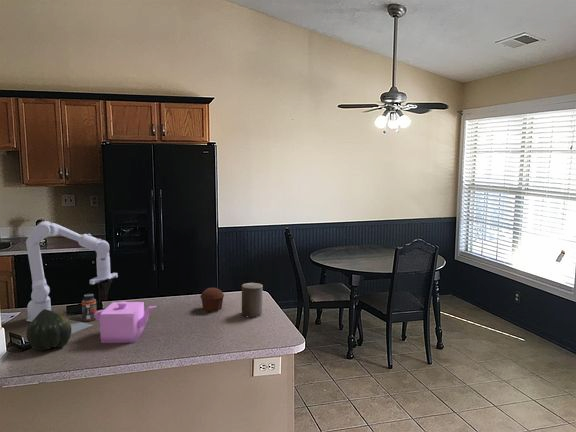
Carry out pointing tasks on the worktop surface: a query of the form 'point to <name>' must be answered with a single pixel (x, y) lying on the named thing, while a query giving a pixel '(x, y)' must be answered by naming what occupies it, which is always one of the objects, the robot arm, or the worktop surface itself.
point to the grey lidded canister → (252, 299)
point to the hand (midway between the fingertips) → (104, 295)
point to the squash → (48, 330)
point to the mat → (78, 326)
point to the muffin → (212, 299)
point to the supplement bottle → (88, 307)
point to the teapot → (122, 321)
